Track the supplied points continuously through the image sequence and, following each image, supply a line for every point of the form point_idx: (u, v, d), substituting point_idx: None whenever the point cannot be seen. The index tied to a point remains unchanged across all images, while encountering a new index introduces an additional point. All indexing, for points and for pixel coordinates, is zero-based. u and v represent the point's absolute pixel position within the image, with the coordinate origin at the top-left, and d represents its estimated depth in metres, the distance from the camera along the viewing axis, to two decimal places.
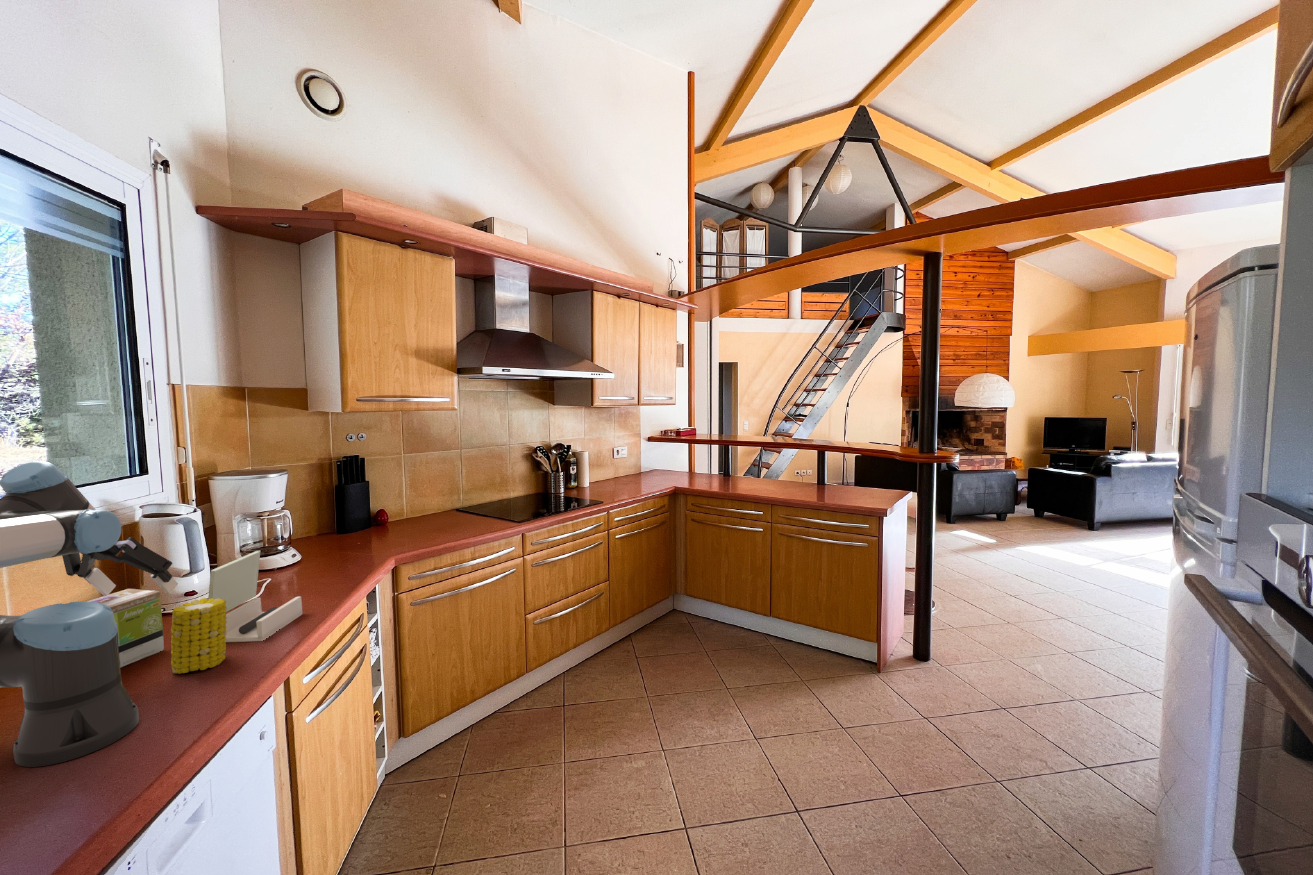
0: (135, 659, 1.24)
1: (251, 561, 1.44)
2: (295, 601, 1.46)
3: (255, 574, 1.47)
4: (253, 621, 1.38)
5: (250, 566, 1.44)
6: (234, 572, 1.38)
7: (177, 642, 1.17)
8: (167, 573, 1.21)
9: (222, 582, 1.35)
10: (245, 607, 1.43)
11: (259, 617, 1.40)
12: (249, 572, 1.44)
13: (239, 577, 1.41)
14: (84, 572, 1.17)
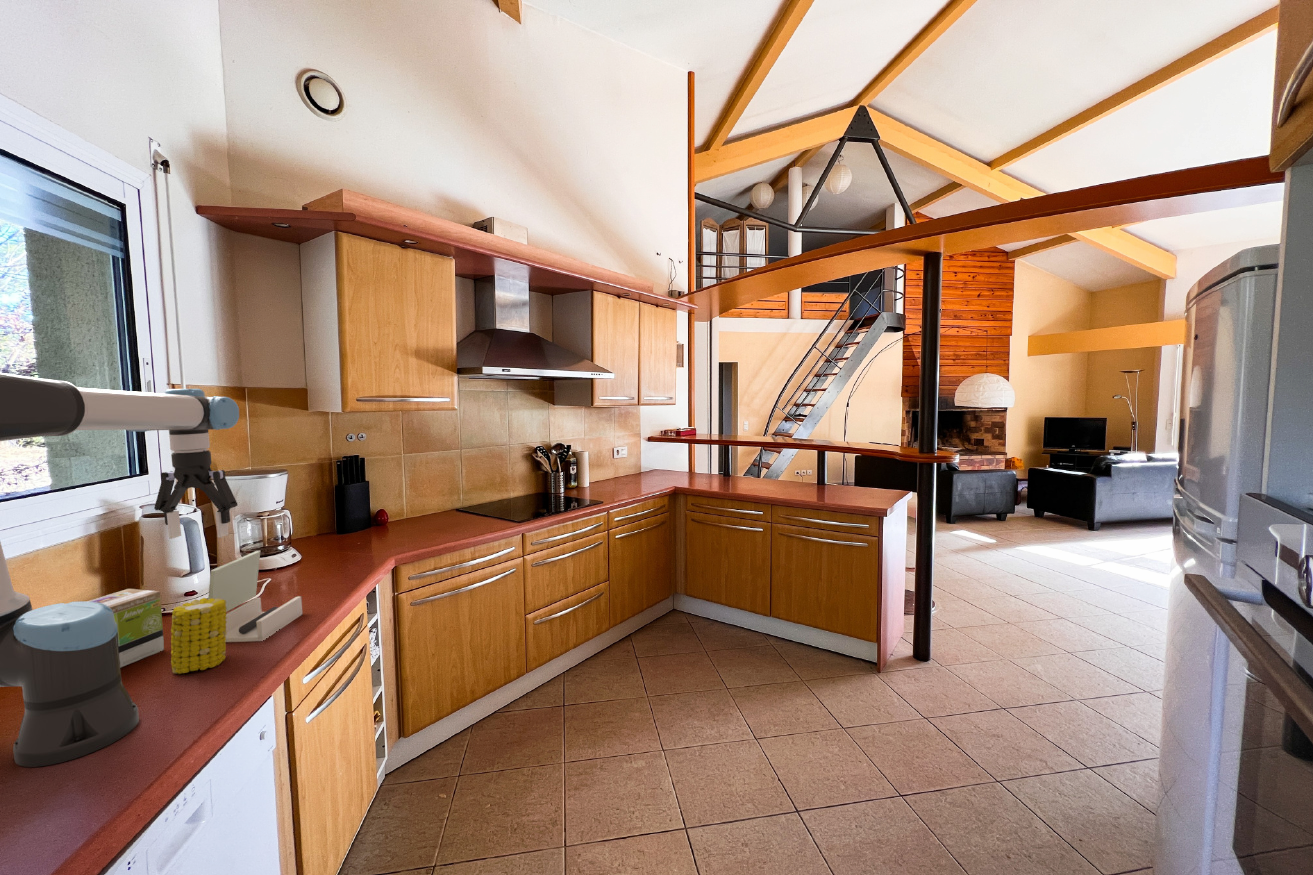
0: (135, 659, 1.24)
1: (251, 561, 1.44)
2: (295, 601, 1.46)
3: (255, 574, 1.47)
4: (253, 621, 1.38)
5: (250, 566, 1.44)
6: (234, 572, 1.38)
7: (177, 642, 1.17)
8: (228, 515, 1.38)
9: (222, 582, 1.35)
10: (245, 607, 1.43)
11: (259, 617, 1.40)
12: (249, 572, 1.44)
13: (239, 577, 1.41)
14: (169, 505, 1.36)
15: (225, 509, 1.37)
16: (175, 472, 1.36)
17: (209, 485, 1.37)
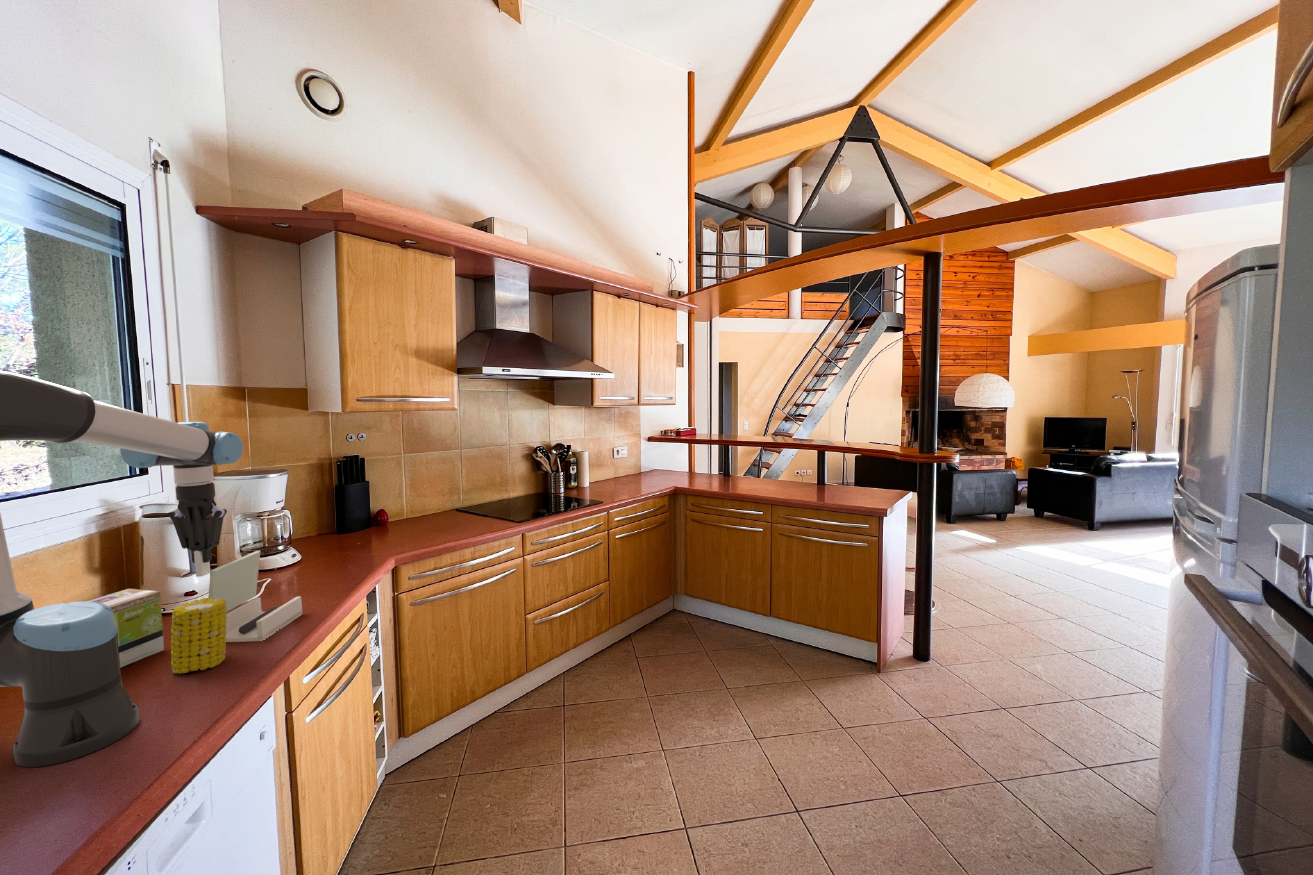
0: (135, 659, 1.24)
1: (251, 561, 1.44)
2: (295, 601, 1.46)
3: (255, 574, 1.47)
4: (253, 621, 1.38)
5: (250, 566, 1.44)
6: (234, 572, 1.38)
7: (177, 642, 1.17)
8: (210, 554, 1.39)
9: (222, 582, 1.35)
10: (245, 607, 1.43)
11: (259, 617, 1.40)
12: (249, 572, 1.44)
13: (239, 577, 1.41)
14: (192, 541, 1.37)
15: (206, 548, 1.38)
16: (178, 506, 1.37)
17: (206, 521, 1.38)
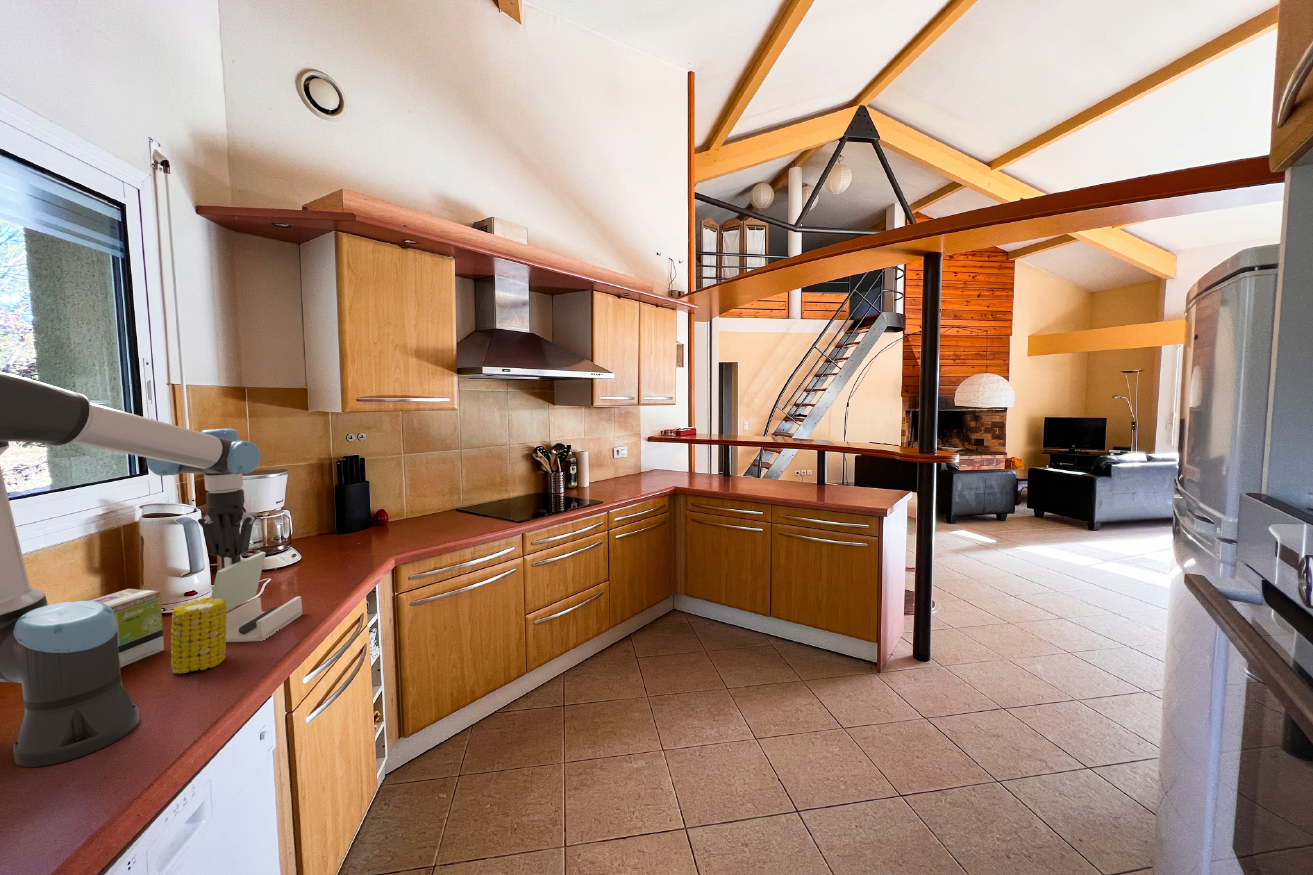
0: (135, 659, 1.24)
1: (256, 561, 1.44)
2: (295, 601, 1.46)
3: (258, 574, 1.47)
4: (253, 621, 1.38)
5: (254, 567, 1.44)
6: (239, 573, 1.39)
7: (177, 642, 1.17)
8: (239, 560, 1.40)
9: (226, 583, 1.35)
10: (245, 607, 1.43)
11: (259, 617, 1.40)
12: (252, 573, 1.44)
13: (243, 578, 1.41)
14: (222, 548, 1.38)
15: (236, 555, 1.39)
16: (208, 512, 1.37)
17: (235, 527, 1.39)
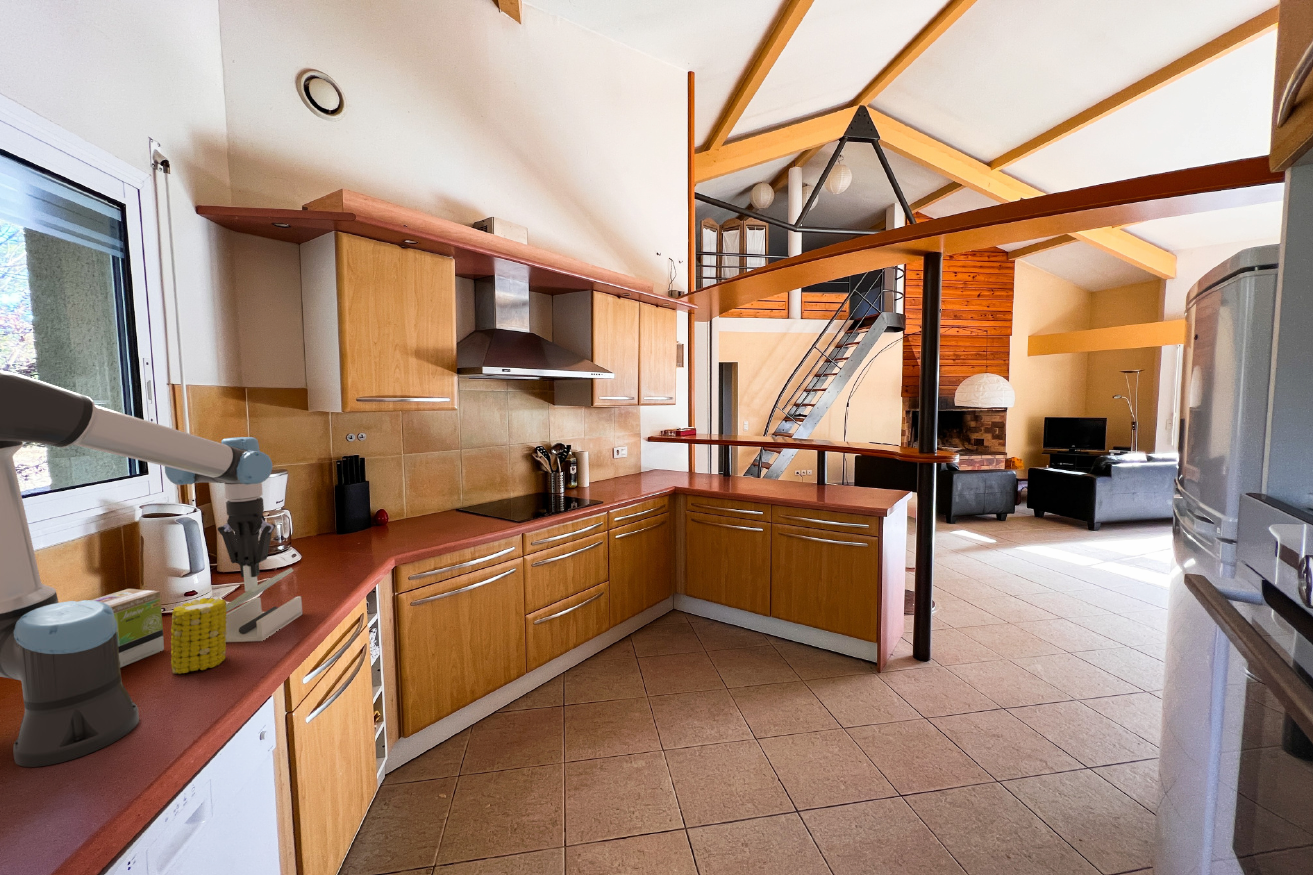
0: (135, 659, 1.24)
1: (280, 578, 1.45)
2: (295, 601, 1.46)
3: (272, 584, 1.47)
4: (253, 621, 1.38)
5: (276, 581, 1.45)
6: (262, 588, 1.39)
7: (177, 642, 1.17)
8: (258, 568, 1.40)
9: (247, 596, 1.35)
10: (245, 607, 1.43)
11: (259, 617, 1.40)
12: (270, 584, 1.45)
13: (261, 589, 1.41)
14: (242, 556, 1.38)
15: (255, 563, 1.39)
16: (228, 521, 1.37)
17: (255, 536, 1.39)
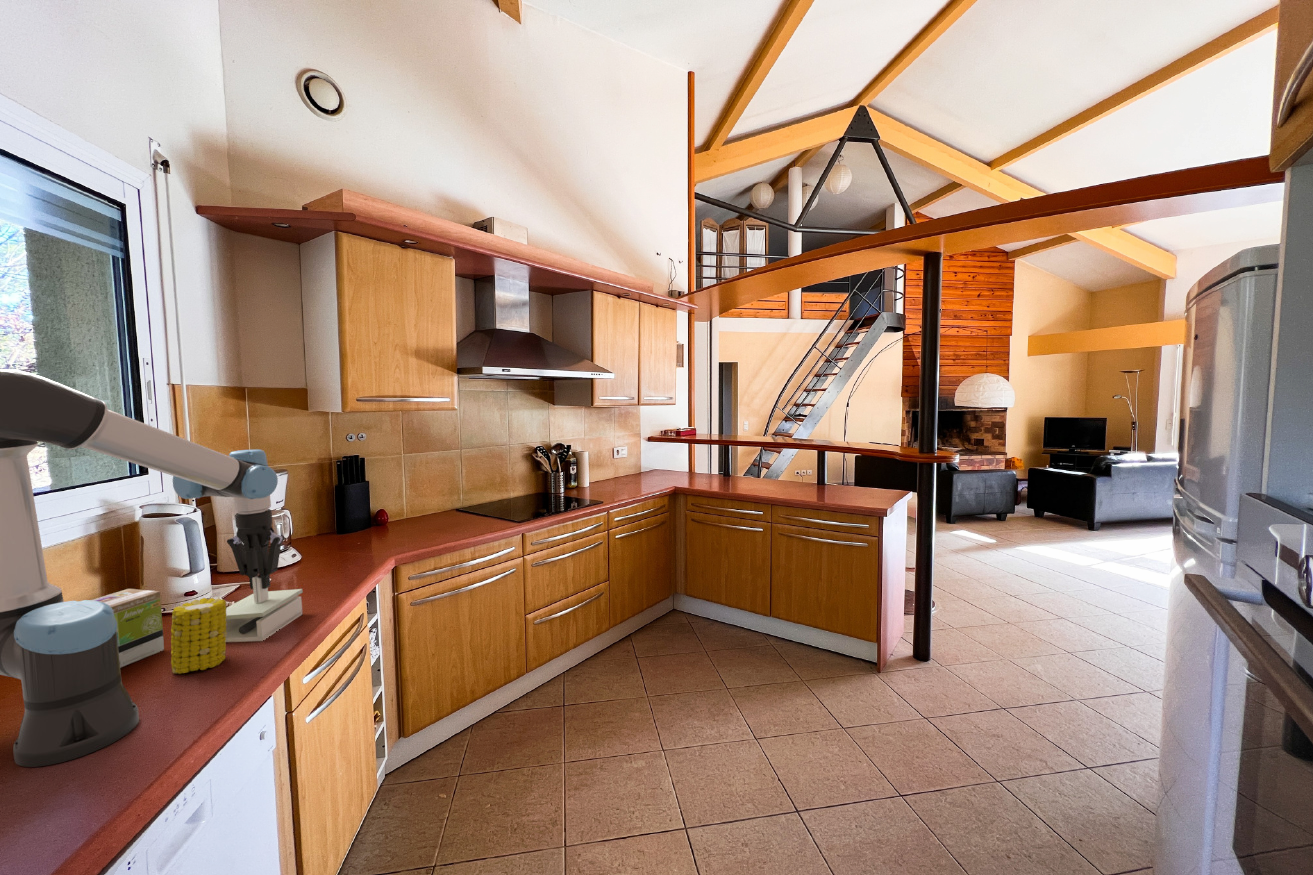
0: (135, 659, 1.24)
1: None
2: (295, 601, 1.46)
3: None
4: (253, 621, 1.38)
5: None
6: None
7: (177, 642, 1.17)
8: (268, 580, 1.41)
9: None
10: None
11: (259, 617, 1.40)
12: None
13: None
14: (251, 568, 1.39)
15: (266, 575, 1.40)
16: (237, 533, 1.38)
17: (264, 548, 1.40)
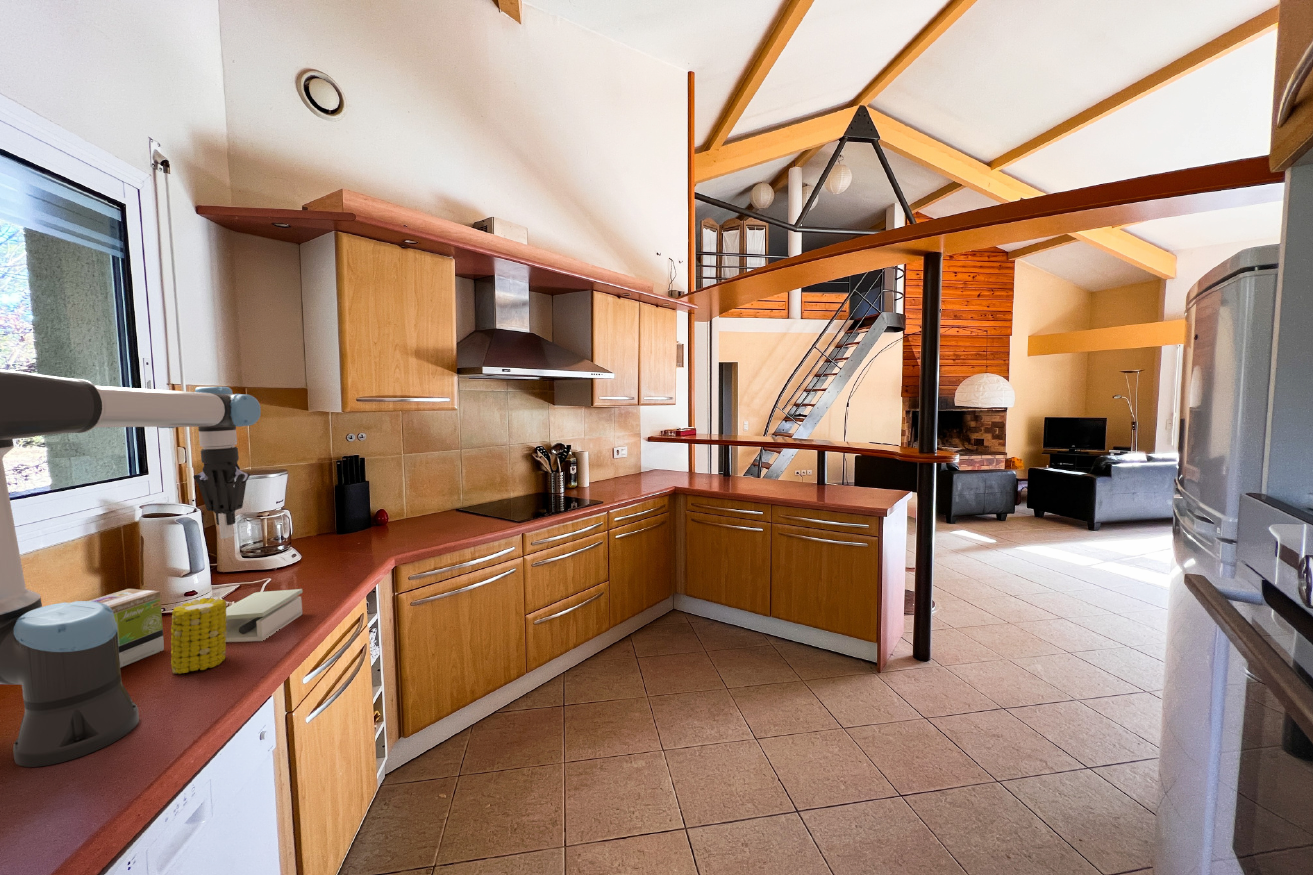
0: (135, 659, 1.24)
1: None
2: (295, 601, 1.46)
3: None
4: (253, 621, 1.38)
5: None
6: None
7: (177, 642, 1.17)
8: (233, 517, 1.42)
9: None
10: None
11: (259, 617, 1.40)
12: None
13: None
14: (217, 504, 1.40)
15: (230, 511, 1.41)
16: (203, 469, 1.40)
17: (230, 484, 1.41)
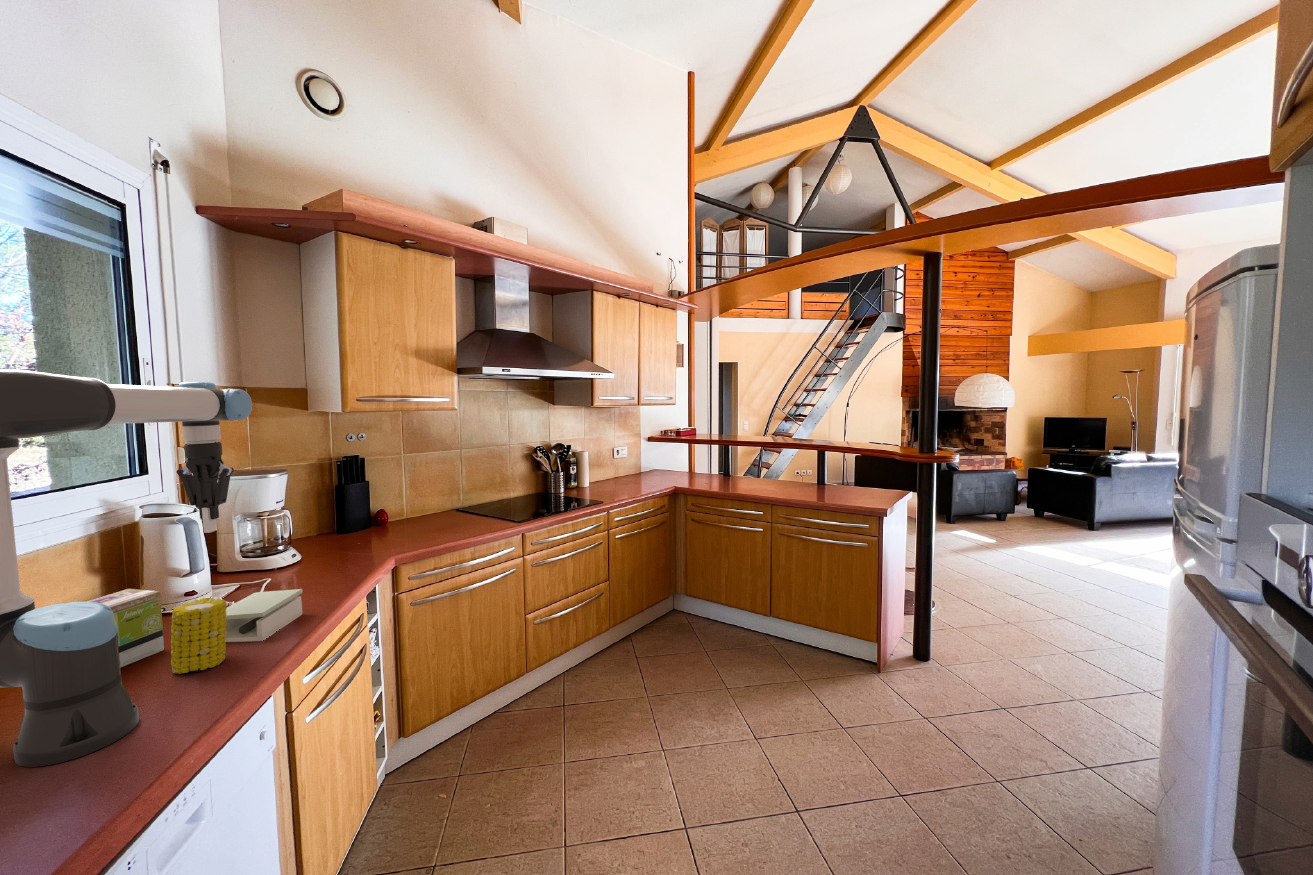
0: (135, 659, 1.24)
1: None
2: (295, 601, 1.46)
3: None
4: (253, 621, 1.38)
5: None
6: None
7: (177, 642, 1.17)
8: (217, 511, 1.43)
9: None
10: None
11: (259, 617, 1.40)
12: None
13: None
14: (200, 498, 1.41)
15: (214, 505, 1.42)
16: (187, 464, 1.41)
17: (213, 479, 1.42)
